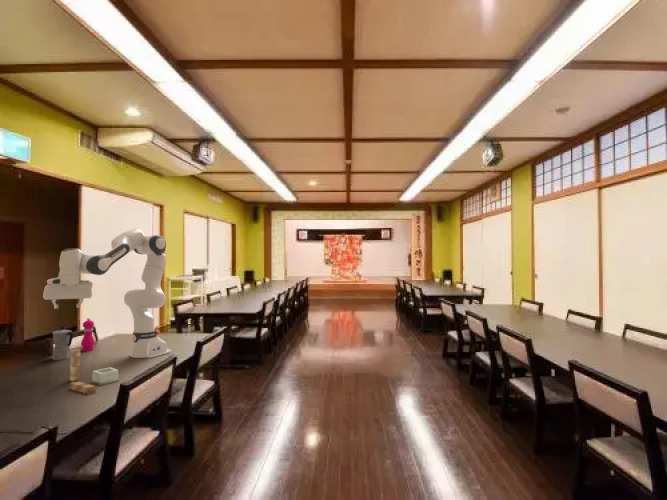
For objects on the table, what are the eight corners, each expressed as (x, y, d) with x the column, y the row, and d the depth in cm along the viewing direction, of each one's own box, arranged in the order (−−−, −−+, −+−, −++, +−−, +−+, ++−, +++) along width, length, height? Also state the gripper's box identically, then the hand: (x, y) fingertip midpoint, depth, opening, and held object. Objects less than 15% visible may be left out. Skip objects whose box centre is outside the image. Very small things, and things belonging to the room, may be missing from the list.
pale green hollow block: (110, 377, 189) (110, 367, 189) (118, 380, 185) (118, 370, 185) (92, 381, 183) (92, 370, 183) (100, 385, 178) (100, 374, 178)
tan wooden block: (76, 378, 187) (77, 349, 187) (79, 379, 185) (80, 350, 185) (69, 380, 185) (70, 350, 185) (72, 381, 183) (73, 351, 183)
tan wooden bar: (69, 389, 172) (70, 382, 172) (76, 387, 175) (77, 381, 175) (88, 395, 166) (88, 388, 166) (95, 393, 169) (95, 386, 169)
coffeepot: (45, 358, 221) (46, 326, 222) (62, 354, 230) (63, 324, 230) (63, 361, 215) (64, 329, 216) (80, 357, 224) (80, 326, 224)
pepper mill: (88, 351, 238) (88, 319, 238) (77, 351, 240) (78, 318, 240) (97, 349, 245) (98, 317, 246) (87, 348, 247) (88, 316, 247)
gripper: (90, 280, 205) (89, 306, 205) (43, 280, 191) (41, 308, 190) (94, 280, 201) (93, 307, 200) (46, 280, 186) (44, 309, 186)
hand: (67, 308), depth 195 cm, fingers open, 8 cm apart
